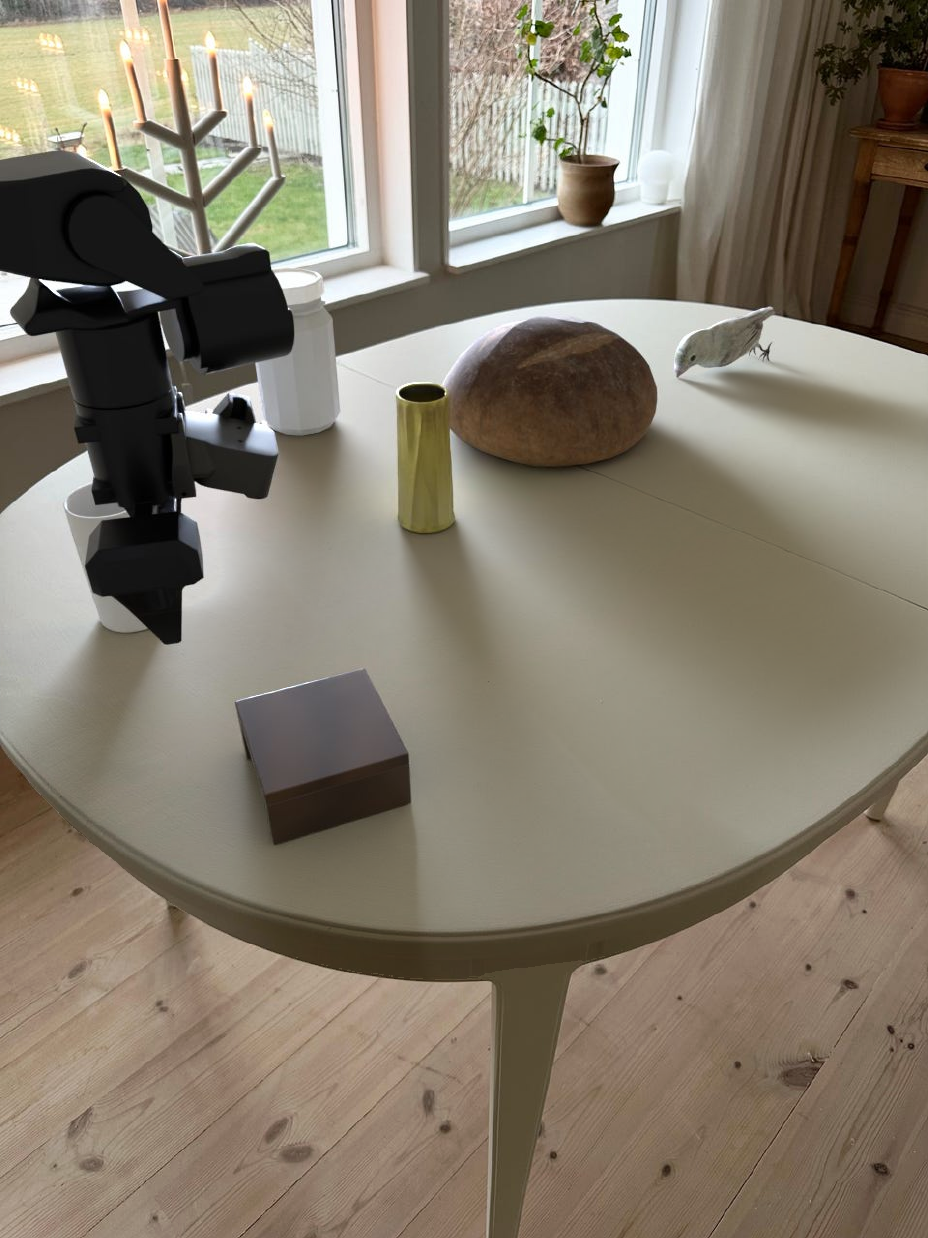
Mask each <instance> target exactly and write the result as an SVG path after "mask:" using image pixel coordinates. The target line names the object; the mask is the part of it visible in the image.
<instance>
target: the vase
mask: <svg viewBox="0 0 928 1238" xmlns="http://www.w3.org/2000/svg"><path fill="white" fill-rule="evenodd" d="M395 402H396V441H397V442H396V444H397V446H396V447H397V507H398V508H397V517H396V518H397V521H398V523H399V525H400V526H401V527H402V529H405V530H407V531H409V532H412V533H418V534H434V533H439V532H443V531H444V530H446V529H448V528H450V527H451V526H452V525H453V524H454V522H455V521H456V514H455V510H454V509H455V508H454V481H453V467H452V466H453V463H452V451H451V429H450V414H449V406H450V395H449V391H448V390H447V388H445V387H444V386H442V384H439V383H435V382H425V381H423V382H422V381H421V382H411V383H407V384H404V385H402V386H400V387H399V388H397V389H396V392H395Z"/></svg>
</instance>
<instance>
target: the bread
mask: <svg viewBox="0 0 928 1238" xmlns="http://www.w3.org/2000/svg"><path fill="white" fill-rule="evenodd" d="M441 385H442V386H444V387H445V388H447V390H448V391H449V395H450V406H449V414H450V431H451V432H452V433H453V434H454V435H455V436H457V437H458V438H459V439H460V440H461V441H462V442H464V443H466V444H468V445H469V446H471V447H473V448H475V449H477V450H479V451H480V452H483V453H485V454H489V455H490V456H494V457H496V458H500V459H504V460H506V461H509V462H513V463H517V464H522V465H525V466H532V467H539V468H542V467H543V468H558V467H571V466H572V467H573V466H580V465H588V464H593V463H596V462H600V461H603V460H608V459H612V458H614V457H616V456H618V455H620V454H623V453H625V452H627V451H628V450H630V449H631V448H632V447H633V446H634V445H636V444H638V443H639V441H640V440H641V439H642V438H643V437H644V435H645V434H646V433H647V432H648V430H649V428H650V426H651V425H652V423H653V421H654V418H655V416H656V413H657V405H658V386H657V384H656V381H655V378H654V374H653V372H652V369H651V367H650V364H649V363H648V362H647V360H646V359H645V357H644V356H643V355H642V354H641V353H640V352H639V350H638V349H637V348H636V347H635V346H633V345H632V343H630V342H629V341H627V339H624V338H623V337H622V336H621V335H619V334H618V333H617V332H615V331H612V330H611V329H608V328H607V327H604V326H603V325H601V324H599V323H597V322H593V321H590V320H589V321H588V320H583V319H582V318H581V319H580V318H577V317H574V316H566V317H559V318H556V317H550V316H536V317H531V318H529V319H525V320H518V321H513V322H507V323H504V324H501V325H499V326H496V327H493V328H491V329H490V330H488V331H486V332H484V333H483V334H481V336H480V337H479V338H477V339H476V340H474V341H473V342H472V343H471V344H470V345H469V346H468V347H467V348H466V349H465V350H464V351H463V352H462V353H461V354H460V355H459V357H458V358H457V360H456V362H454V364H453V365H452V367H451V369H450V370H449V372H448V373H447V374H446V376H445V378H444V380H443V382H442V384H441Z"/></svg>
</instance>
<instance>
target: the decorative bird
mask: <svg viewBox="0 0 928 1238" xmlns="http://www.w3.org/2000/svg"><path fill="white" fill-rule="evenodd" d="M774 309H775V308H774V307H773V306H767V307H762V308H759V309H756V310H754V311H751V312H749V313H747V314H745V315H742V316H736V317H732V318H727V319H724V320H720V321H718V322H716V323H714V324H713V325H711V326H709V327H707V328H703V329H698V330H695V331H692V332H690V333H688V334H687V335H685V336H684V337H683V338H682V340H681V341H680V342H679V344H678V346H677V348H676V350H675V354H674V363H673V365H674V366H673V369H674V374H675V377H676V378H679V377H680V376H682V375H683V374H684V373H686V372H687V371H689V369H691V368H692V367H695V366H696V365H698V366H699V367H701V368H705V369H712V368H714V369H715V368H723V367H726V366H729V365H731V364H732V363H734V362H736V361H737V360H739V359H740V358H741V357H744V356H746V355H747V354H748V357H750V356H751V353H752V352H753V354H754V355H755V356H757V354H756V349H757V348H758V349H759V350H760V351H761V352H762V353H760V355H759V357H758V358H759V359H760V358H761V357H762V358H761V359H762V362H764V360H765V358H766V360H767V361H768V363H769V362H771V361H770V357H769V355H770V352H771V350H770V348H771V346H772V345H773V341H771V342H770V343H769V344H768V346H767V347H766V348H765V349H763V347H762V345H761V344H760V343H759V341H760V339H761V336H762V331H763V327H764V323H763V322H764V321H766V320H768V319H769V318H770V317H773V316H775V315H776V311H775V310H774Z"/></svg>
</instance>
